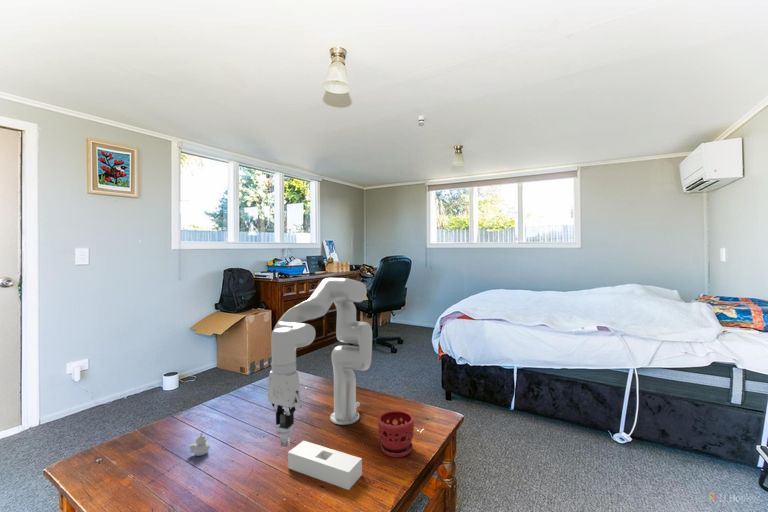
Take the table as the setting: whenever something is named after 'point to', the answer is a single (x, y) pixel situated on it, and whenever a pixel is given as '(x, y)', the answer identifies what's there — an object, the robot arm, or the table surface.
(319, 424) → the table surface
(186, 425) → the table surface
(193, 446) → the grey rounded lumpy piece
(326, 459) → the bar
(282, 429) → the silver and black post
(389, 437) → the plant pot
